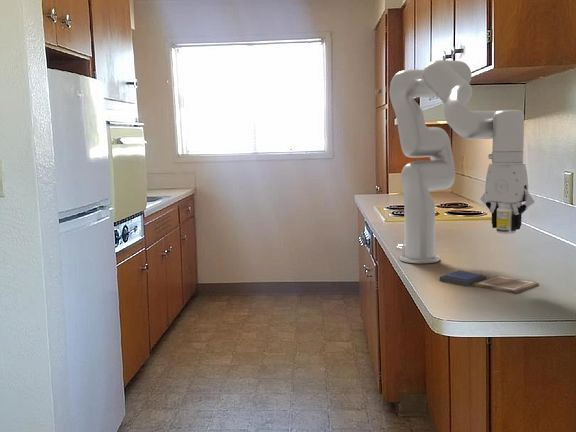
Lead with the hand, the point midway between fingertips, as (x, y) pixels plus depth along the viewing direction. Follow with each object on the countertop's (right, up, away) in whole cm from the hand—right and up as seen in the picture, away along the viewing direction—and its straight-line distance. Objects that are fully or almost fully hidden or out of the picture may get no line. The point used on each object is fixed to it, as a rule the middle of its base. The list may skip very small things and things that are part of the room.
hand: (506, 227), depth 159 cm
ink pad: (-9, -15, +8) cm, 19 cm away
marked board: (+1, -15, +2) cm, 15 cm away
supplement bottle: (0, -2, 0) cm, 1 cm away
